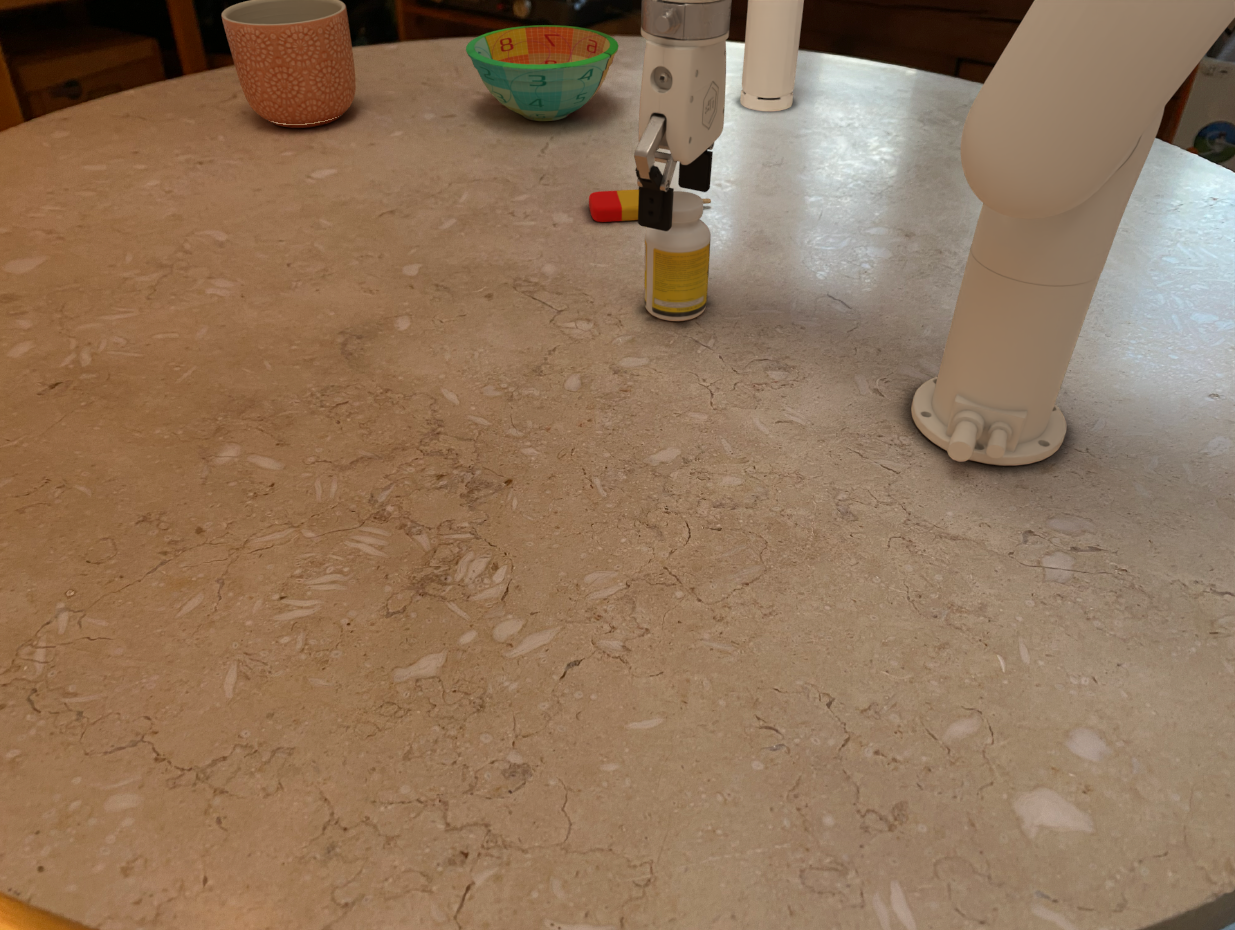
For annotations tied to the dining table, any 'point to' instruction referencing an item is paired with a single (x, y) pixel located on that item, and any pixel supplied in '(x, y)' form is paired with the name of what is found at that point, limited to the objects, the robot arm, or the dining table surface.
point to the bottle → (771, 53)
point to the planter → (293, 58)
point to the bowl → (543, 67)
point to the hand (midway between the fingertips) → (674, 207)
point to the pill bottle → (678, 262)
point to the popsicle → (617, 205)
